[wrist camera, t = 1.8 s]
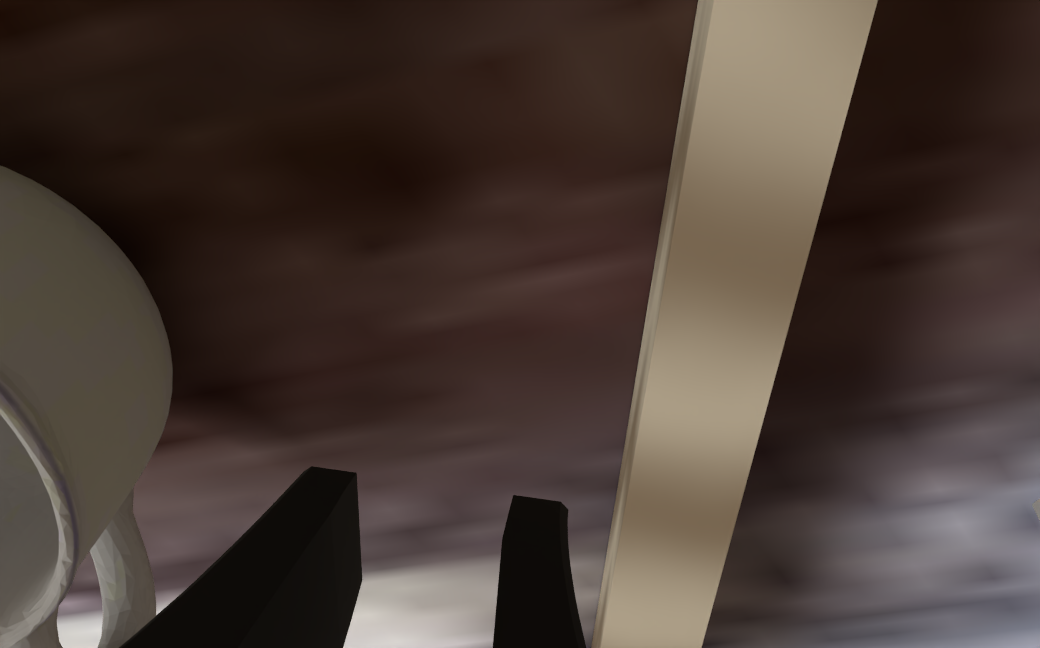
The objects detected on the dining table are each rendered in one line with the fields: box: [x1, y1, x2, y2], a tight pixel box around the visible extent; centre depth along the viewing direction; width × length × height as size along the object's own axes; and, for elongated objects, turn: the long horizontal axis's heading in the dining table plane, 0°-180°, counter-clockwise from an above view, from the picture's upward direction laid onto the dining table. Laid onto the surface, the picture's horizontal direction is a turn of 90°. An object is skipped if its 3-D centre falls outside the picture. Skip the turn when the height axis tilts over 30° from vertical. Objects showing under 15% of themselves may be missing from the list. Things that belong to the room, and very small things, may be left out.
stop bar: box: [591, 0, 878, 648], centre depth 22 cm, size 26×2×4 cm, turn 177°
